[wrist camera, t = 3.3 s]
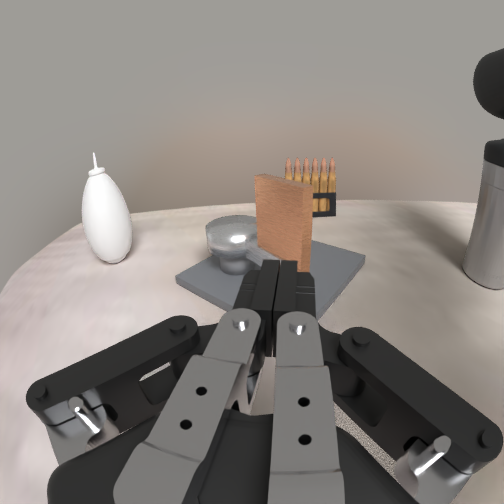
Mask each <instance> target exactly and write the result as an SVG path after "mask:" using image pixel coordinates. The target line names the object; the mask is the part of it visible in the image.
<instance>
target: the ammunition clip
mask: <svg viewBox="0 0 504 504" xmlns="http://www.w3.org/2000/svg"><path fill="white" fill-rule="evenodd" d="M285 169H286V171H285V179H289V180H293V181H297V182H301V183H305V184H309V185H310V174H309V163H308V159H307V158H305V161H304V166H303V178H302V180H301V172H300V171H301V169H300V162H299V159H298V158H297V159H296V161H295V168H294V179H292V168H291V162H290V159H289V158H288V159H287V162H286V168H285ZM326 169H327V168H326V161H325V158H323V159H322V162H321V172H320V178H318V164H317V160H316V158H314V160H313V164H312V175H311V185H313V211H312V217H327V216H336V192H335V189H336V178H335V163H334V159H333V158H332V159H331V161H330V166H329V176H328V186H327V170H326ZM318 198H319V202H318Z"/></svg>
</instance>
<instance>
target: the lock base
mask: <svg viewBox="0 0 504 504" xmlns="http://www.w3.org/2000/svg"><path fill="white" fill-rule="evenodd" d="M364 262H365V255H362V254H358V253H355V252H352V251H348V250H345V249H341V248H338V247H334V246H331V245H327V244H324V243H320V242H317V241H313V240H311V255H310V271H309V272H310V274H311V275H312V276H313V278H314V280H315V301H316V319H317V321H318V320H319V318H320V317H321V316H322V315H323V314H324V313H325V311H326V310H327V309H328V308H329V307H330V305H331V304H332V303H333V302H334V301H335V299H336V298H337V297H338V296H339V295H340V293H341V292H342V291H343V290H344V288H345V287H346V286H347V285H348V283H349V282H350V281H351V280H352V278H353V277H354V276H355V274H356V273H357V272H358V271H359V269H360V268H361V267H362V265H363V264H364ZM250 270H261V266H259V265H258V264H256V263H255V262H253V261H251V260H250V259H248V258H247V257H244V258H236V259H228V258H221V257H217V256H215V255H212V256H211V257H209V258H207V259H205V260H203V261H201V262H200V263H198V264H196V265H194V266H192V267H190V268H189V269H187V270H185V271H183V272H181V273H180V274H178V275H176V276H175V277H176V281H177V284H179V285H180V286H182V287H184V288H186V289H187V290H189V291H191V292H193V293H194V294H196V295H198V296H200V297H202V298H203V299H205V300H207V301H209V302H211V303H213V304H214V305H216V306H218V307H220V308H222V309H224V310H226V311H227V312H228V311H230V310H232V308H233V306H234V303H235V300H236V297H237V294H238V291H239V289H240V286H241V283H242V280H243V277H244V275H245V274H247V273H248V272H249V271H250Z"/></svg>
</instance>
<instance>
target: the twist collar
mask: <svg viewBox="0 0 504 504" xmlns="http://www.w3.org/2000/svg"><path fill="white" fill-rule="evenodd" d="M255 194H256V195H255V196H256V217H253V216H247V215H232V216H225V217H221V218H218V219H215V220H213V221H211V222H209V223H208V224H207V225H206V236H207V244H208V250H209V252H210V253H211V254H213V255H215V256H217V257H221V258H228V259H236V258H244V257H247V258H248V259H250V260H251V261H253V262H255V263H256V264H258V265H259V266H262V262H263V259H271V260H280V265H281V260H298V264H297V272H309V271H310V255H311V236H312V211H313V185H309V184H305V183H301V182H297V181H293V180H289V179H285V178H281V177H276V176H272V175H267V174H260V175H255Z"/></svg>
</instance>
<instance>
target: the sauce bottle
mask: <svg viewBox="0 0 504 504" xmlns="http://www.w3.org/2000/svg"><path fill="white" fill-rule="evenodd" d="M93 161H94V169H93V170H90V171H89V176H90V177H89V179H88V181H87V183H86V186H85V189H84V194H83V200H82V221H83V228H84V232H85V235H86V238H87V241H88V243H89V245H90V247H91V248H92V250H93V251H94V253H95V254H96V255H97V256H98V257H99V258H100V259H102V260H104V261H107V262H108V263H114V264H115V263H118V262H120V261H121V260H122V259H124V258H125V257H126V254H127V253H128V252H129V250H130V247H131V243H132V222H131V217H130V213H129V210H128V207H127V205H126V202H125V200H124V198H123V196H122V194H121V192H120V190H119V188H118V187H117V185H116V184H115V183H114V181H113V180H112V179H111V178H110V177H109V176H108V175H107V174H106V173H104V172H105V169H104V168H102V167H101V168H98V167H97V162H96V157H95V153H93Z"/></svg>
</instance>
